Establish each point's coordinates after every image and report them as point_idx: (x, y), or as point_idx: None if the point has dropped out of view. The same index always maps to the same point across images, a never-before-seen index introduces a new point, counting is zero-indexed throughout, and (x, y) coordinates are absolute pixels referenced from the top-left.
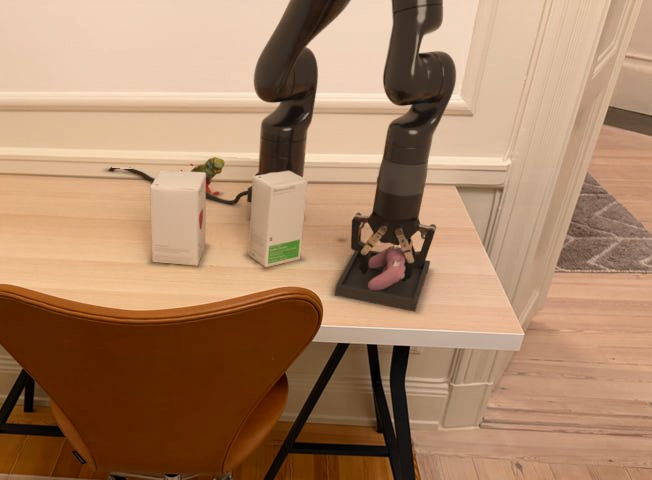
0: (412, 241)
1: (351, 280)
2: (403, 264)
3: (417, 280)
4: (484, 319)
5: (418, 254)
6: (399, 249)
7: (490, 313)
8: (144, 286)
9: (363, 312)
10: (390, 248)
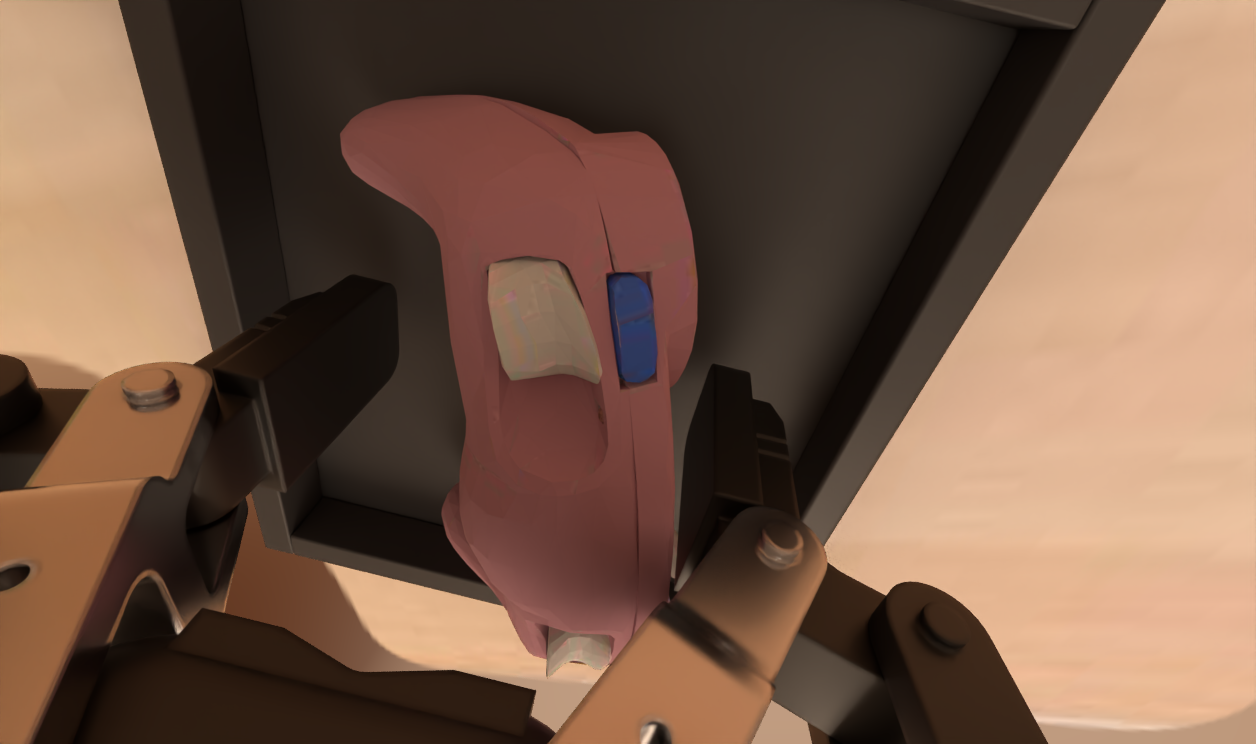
0: (763, 714)
1: None
2: None
3: (852, 311)
4: (1138, 652)
5: (818, 722)
6: (590, 499)
7: (1232, 611)
8: None
9: (488, 606)
10: (474, 358)
